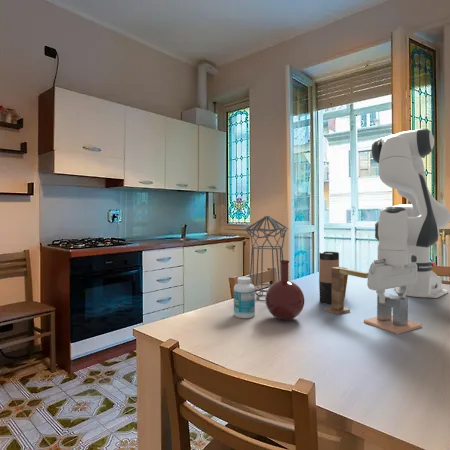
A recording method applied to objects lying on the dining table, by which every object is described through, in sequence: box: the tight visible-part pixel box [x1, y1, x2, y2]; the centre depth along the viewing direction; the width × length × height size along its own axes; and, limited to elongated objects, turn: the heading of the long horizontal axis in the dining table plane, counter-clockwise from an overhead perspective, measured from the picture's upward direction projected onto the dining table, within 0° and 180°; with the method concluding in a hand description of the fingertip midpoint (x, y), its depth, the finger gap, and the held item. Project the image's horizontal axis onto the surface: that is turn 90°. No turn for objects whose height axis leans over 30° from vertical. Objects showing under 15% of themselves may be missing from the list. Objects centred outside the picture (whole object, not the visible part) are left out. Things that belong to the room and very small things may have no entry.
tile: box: [363, 315, 423, 335], centre depth 108 cm, size 12×12×1 cm
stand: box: [325, 266, 368, 315], centre depth 118 cm, size 6×16×16 cm, turn 29°
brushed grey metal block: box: [376, 292, 409, 327], centre depth 108 cm, size 8×4×8 cm, turn 29°
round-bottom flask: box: [264, 259, 305, 321], centre depth 114 cm, size 13×13×20 cm
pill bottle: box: [233, 276, 256, 319], centre depth 118 cm, size 8×7×14 cm
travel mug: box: [318, 251, 340, 306], centre depth 134 cm, size 8×8×20 cm
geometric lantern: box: [244, 215, 289, 302], centre depth 141 cm, size 16×16×35 cm
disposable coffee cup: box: [340, 266, 349, 298], centre depth 143 cm, size 10×10×12 cm
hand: (392, 300), depth 107 cm, fingers open, 8 cm apart
